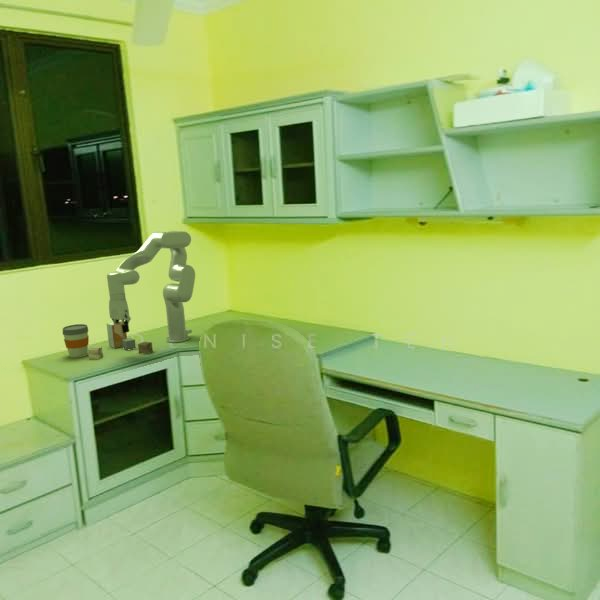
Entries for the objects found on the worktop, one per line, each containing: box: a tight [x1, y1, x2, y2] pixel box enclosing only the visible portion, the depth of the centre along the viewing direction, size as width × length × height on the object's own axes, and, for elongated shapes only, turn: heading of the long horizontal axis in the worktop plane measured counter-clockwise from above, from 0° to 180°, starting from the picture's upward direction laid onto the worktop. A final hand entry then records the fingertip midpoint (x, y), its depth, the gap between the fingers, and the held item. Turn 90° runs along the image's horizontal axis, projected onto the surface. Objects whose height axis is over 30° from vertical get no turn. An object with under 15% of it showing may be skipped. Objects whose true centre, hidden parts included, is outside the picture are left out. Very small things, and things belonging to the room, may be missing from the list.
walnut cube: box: [137, 341, 153, 355], centre depth 310 cm, size 5×5×5 cm
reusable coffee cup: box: [62, 323, 90, 358], centre depth 310 cm, size 13×12×15 cm
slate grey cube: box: [122, 337, 137, 351], centre depth 318 cm, size 5×5×5 cm
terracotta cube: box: [114, 320, 130, 334], centre depth 302 cm, size 5×5×5 cm
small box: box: [106, 320, 128, 349], centre depth 324 cm, size 8×6×13 cm
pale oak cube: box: [87, 346, 104, 360], centre depth 305 cm, size 5×5×5 cm
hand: (122, 331), depth 303 cm, fingers closed on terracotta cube, 5 cm apart
